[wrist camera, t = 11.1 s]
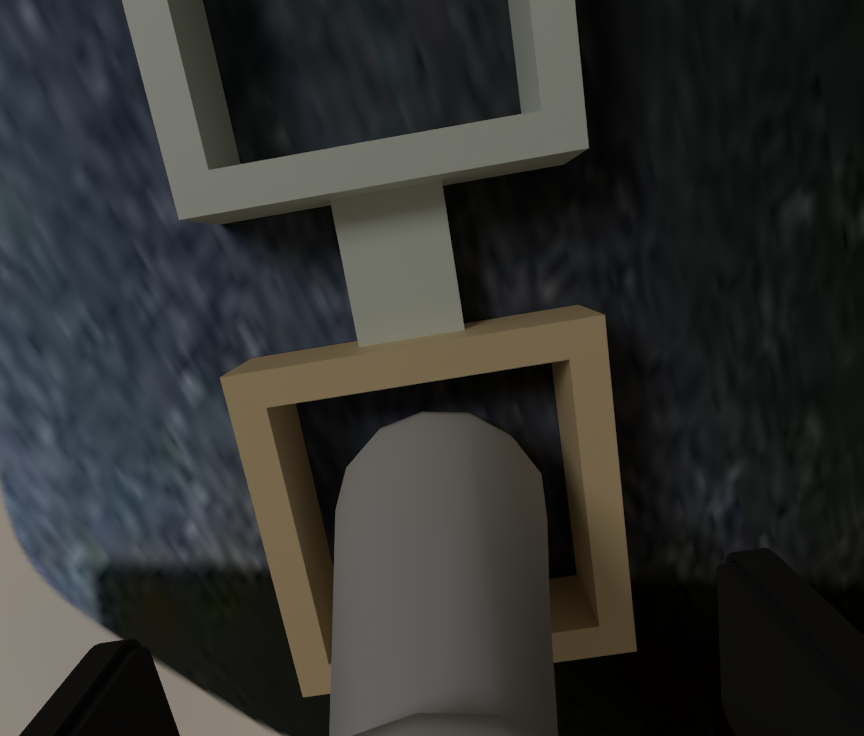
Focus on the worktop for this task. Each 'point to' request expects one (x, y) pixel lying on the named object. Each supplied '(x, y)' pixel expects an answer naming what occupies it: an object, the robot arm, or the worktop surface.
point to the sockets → (398, 307)
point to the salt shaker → (441, 586)
